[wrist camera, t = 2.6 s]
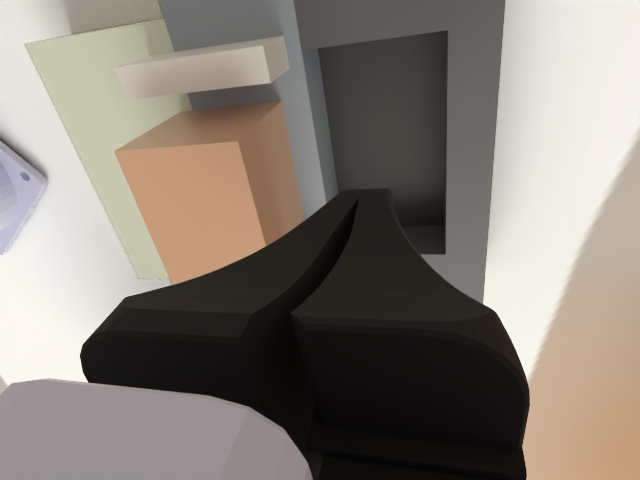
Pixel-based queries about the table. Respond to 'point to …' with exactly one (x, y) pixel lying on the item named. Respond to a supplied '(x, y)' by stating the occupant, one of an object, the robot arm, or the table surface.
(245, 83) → the channel walls
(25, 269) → the table surface
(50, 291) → the table surface
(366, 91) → the gray recessed tray
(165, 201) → the terracotta block
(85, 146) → the pad
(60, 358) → the table surface
